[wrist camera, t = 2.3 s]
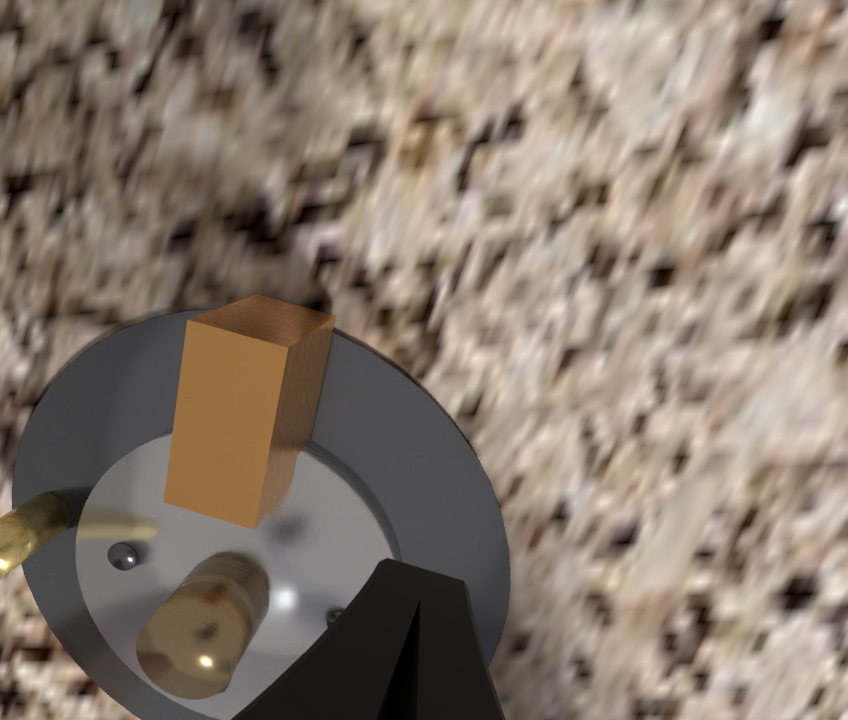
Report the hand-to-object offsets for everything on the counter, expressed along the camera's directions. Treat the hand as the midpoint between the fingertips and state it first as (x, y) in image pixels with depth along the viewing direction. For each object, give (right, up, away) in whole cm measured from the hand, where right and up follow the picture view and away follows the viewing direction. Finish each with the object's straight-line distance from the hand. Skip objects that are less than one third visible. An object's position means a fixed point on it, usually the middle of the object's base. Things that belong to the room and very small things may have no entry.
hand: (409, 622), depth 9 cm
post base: (-6, -3, +11) cm, 13 cm away
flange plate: (-5, -1, +11) cm, 12 cm away
